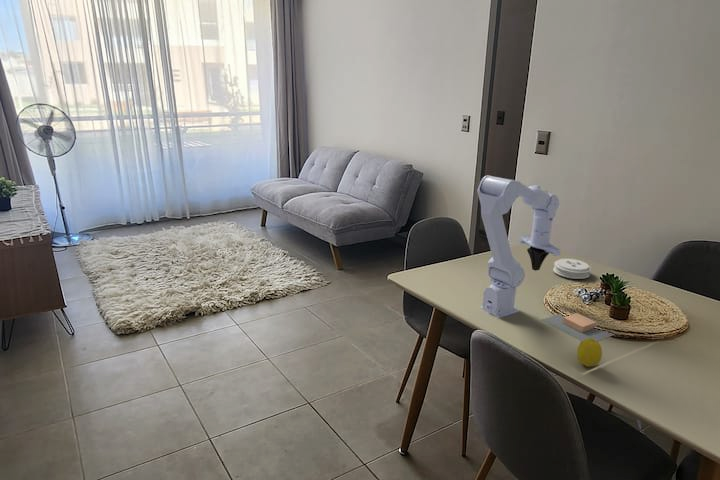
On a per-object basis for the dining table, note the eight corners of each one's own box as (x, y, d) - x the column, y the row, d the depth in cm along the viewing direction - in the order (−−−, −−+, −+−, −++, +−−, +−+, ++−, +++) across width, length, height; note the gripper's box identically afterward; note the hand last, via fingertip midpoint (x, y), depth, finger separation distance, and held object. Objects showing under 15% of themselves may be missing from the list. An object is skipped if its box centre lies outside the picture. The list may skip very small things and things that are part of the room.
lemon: (578, 357, 120) (583, 330, 118) (601, 365, 117) (606, 338, 114) (572, 367, 116) (577, 339, 114) (595, 375, 113) (601, 347, 110)
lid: (564, 281, 167) (566, 269, 166) (546, 268, 179) (548, 256, 178) (596, 280, 169) (598, 267, 167) (577, 267, 181) (579, 255, 179)
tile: (562, 323, 137) (581, 333, 132) (563, 317, 136) (582, 326, 131) (575, 318, 140) (595, 328, 134) (576, 312, 139) (596, 322, 134)
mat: (588, 346, 126) (588, 344, 126) (540, 321, 139) (540, 319, 139) (615, 335, 131) (615, 334, 131) (567, 312, 144) (567, 311, 144)
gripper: (569, 234, 143) (562, 274, 147) (532, 222, 155) (527, 260, 159) (553, 237, 140) (547, 279, 144) (517, 225, 152) (512, 263, 156)
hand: (535, 269), depth 152 cm, fingers closed
